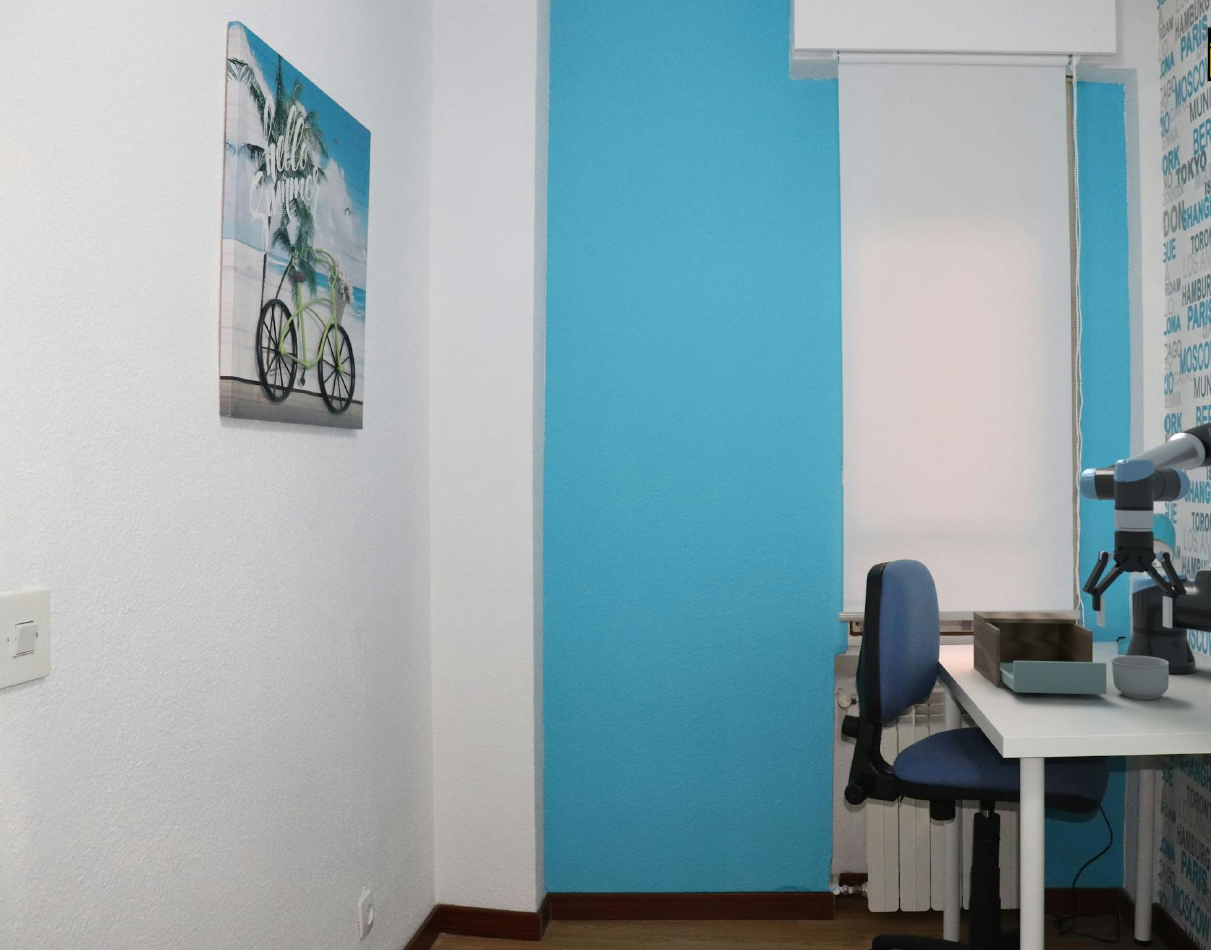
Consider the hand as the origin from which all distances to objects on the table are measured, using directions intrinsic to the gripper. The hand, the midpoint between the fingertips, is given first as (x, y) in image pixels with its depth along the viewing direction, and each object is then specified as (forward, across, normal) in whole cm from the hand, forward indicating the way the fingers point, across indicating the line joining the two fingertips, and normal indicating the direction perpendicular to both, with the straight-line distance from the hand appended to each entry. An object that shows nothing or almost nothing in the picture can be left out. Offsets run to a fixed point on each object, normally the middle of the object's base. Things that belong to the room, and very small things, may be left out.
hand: (1134, 626), depth 203 cm
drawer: (+13, +17, -3) cm, 22 cm away
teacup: (+15, 0, 0) cm, 15 cm away
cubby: (+15, +18, -14) cm, 27 cm away
